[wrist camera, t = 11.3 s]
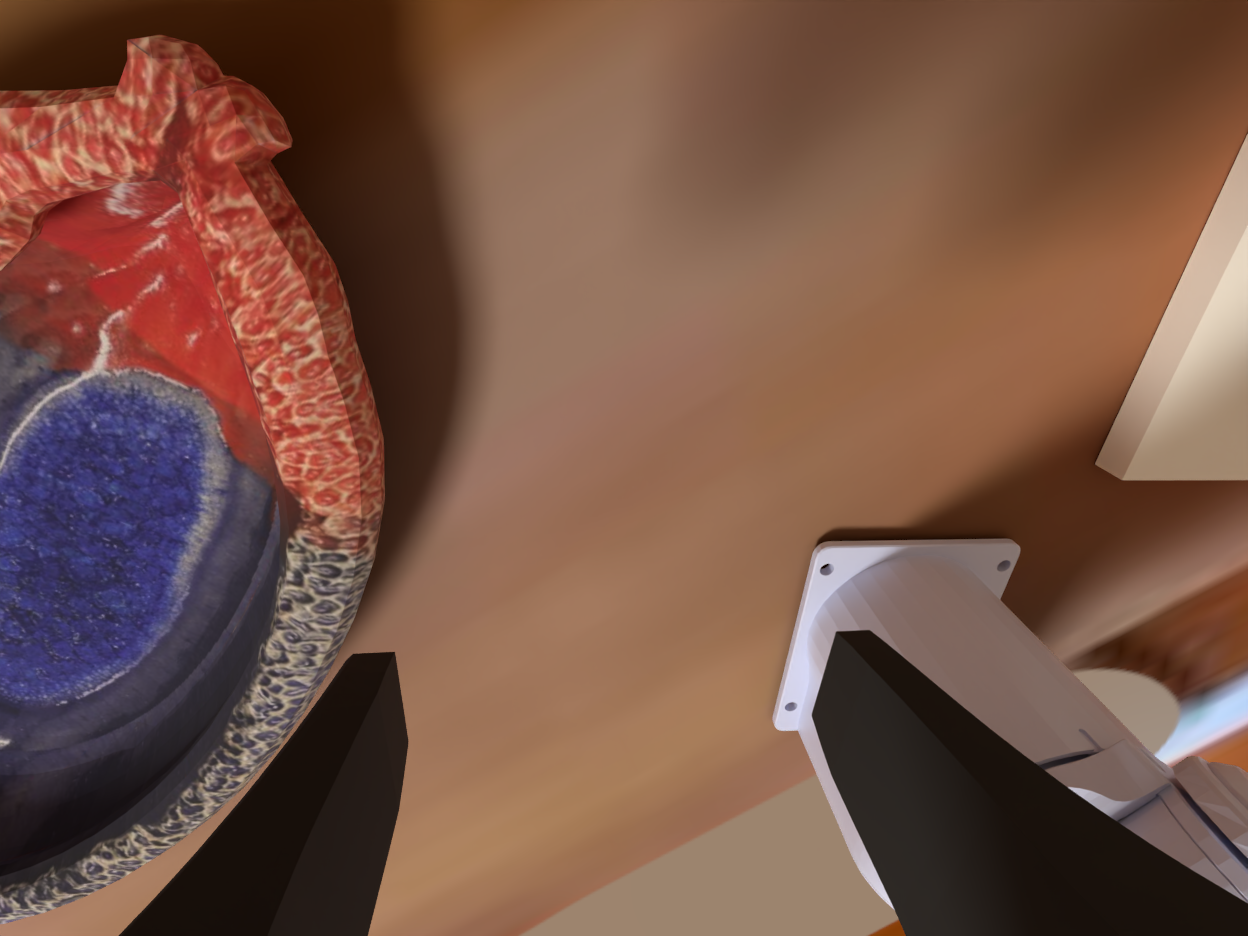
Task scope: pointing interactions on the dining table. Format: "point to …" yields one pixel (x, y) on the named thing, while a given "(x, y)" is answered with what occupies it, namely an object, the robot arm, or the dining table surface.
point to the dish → (163, 465)
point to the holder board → (1195, 363)
